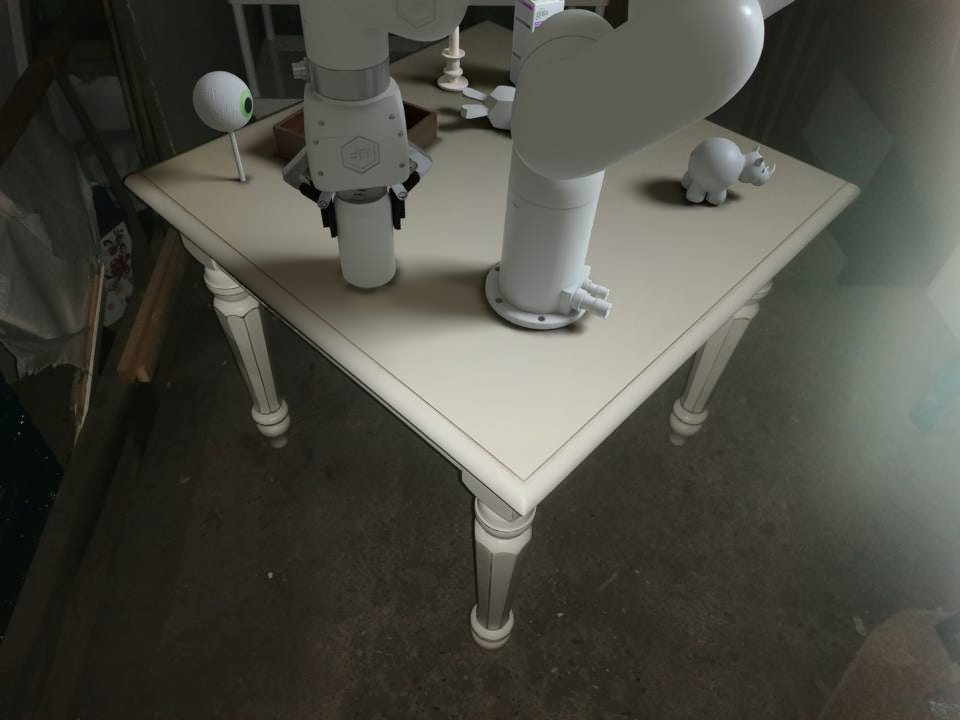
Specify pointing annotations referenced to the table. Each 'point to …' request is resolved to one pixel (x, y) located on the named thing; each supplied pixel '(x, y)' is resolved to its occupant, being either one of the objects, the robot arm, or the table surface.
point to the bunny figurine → (491, 106)
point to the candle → (453, 65)
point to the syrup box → (529, 25)
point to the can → (365, 236)
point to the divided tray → (417, 120)
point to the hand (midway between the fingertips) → (364, 225)
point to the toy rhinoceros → (722, 170)
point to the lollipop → (224, 106)
